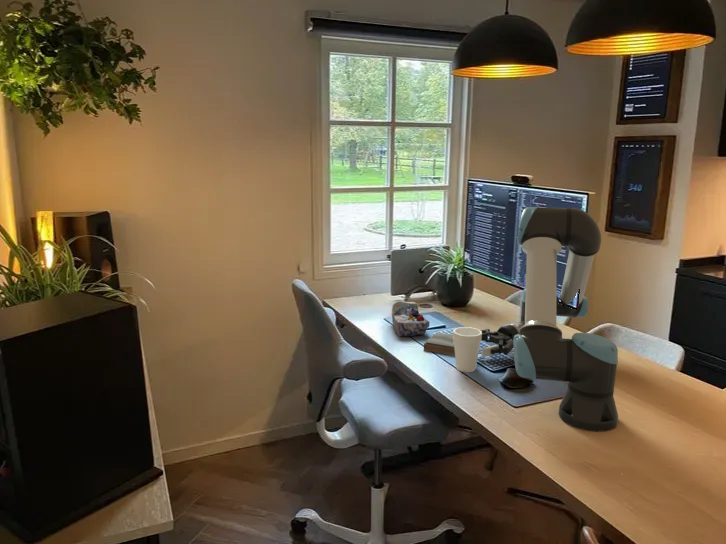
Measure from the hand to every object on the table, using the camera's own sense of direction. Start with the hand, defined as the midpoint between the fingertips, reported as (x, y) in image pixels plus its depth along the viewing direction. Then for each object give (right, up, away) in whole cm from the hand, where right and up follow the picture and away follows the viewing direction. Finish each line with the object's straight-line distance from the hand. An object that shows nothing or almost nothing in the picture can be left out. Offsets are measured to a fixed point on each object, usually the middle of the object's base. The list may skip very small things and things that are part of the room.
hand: (467, 346), depth 191 cm
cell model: (-17, +1, +38) cm, 42 cm away
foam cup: (0, -8, +1) cm, 8 cm away
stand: (-4, -3, +20) cm, 21 cm away
